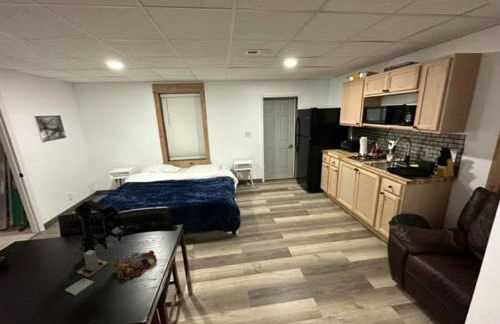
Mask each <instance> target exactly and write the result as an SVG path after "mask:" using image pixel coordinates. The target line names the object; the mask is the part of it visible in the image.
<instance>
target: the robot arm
mask: <svg viewBox="0 0 500 324" xmlns="http://www.w3.org/2000/svg"><path fill="white" fill-rule="evenodd" d="M92 211H95V212H97V214H98V215H99V216H100V217H99V218H100V219H102V223H103V226H102V228H103V229H104V232H103V234H104V235H98V236H97V237H96V236H94V235H93V231H92V226H91V220H90V215H92ZM74 213H75V215H76V217H78V218H79V220H80V225H81V229H82V236H83V237H82V239H81V245H80V246H79V250H80V251H81V252H84V253H86V252H87V251H89V250H91V251H95V252H96V254H97V255H98V252H97V251H96V250H95V247H96V246H97V245H101V246H102V247H103V248H104V249H105V250H108V246H107V242H108V241H107V240H106V239H107V238H109V237H110V236H112V237H113V238H114V239H116V238H117V240H118V242H119V243H120V242H121V241H122V237H123V234H124V233H125V232H126V231H127V230H128V228H127V226H126V225H123V224H124V219H123V218H122V217H120V215H119V213H118V211H117V209H116V208H115V207H114V206H113V205H112V204H108V203H107V204H101V203H98V202H96V201H93V200H92V199H89V200H85V201H83V202H82V203H81V204H80V205H78V206H77V207H75V209H74ZM82 257H83V258H84V255H83V256H82Z"/></svg>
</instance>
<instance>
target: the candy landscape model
mask: <svg viewBox="0 0 500 324" xmlns="http://www.w3.org/2000/svg"><path fill="white" fill-rule="evenodd" d="M157 263H158V259H157V255H156V254H155V251H154V250H153V249H152V250H149V251H148V252H146V251H145V252H144V251H143V252H141V253H140V252H136V251H131V252H130V253H128V254H126V255H125V254H123V256H121V258H116V259H114V260H113V261H111V265H112V268H113V269H114V270H113V273H114V274H116V278H117V279H125V280H128V279H131V280H133V278H134V277H136V278H138V277H139V276H141V275H142V274H144V273H145V272H146V271H148V270H151V268H153V267H154V266H155V265H156V264H157Z"/></svg>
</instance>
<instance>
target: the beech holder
mask: <svg viewBox="0 0 500 324" xmlns="http://www.w3.org/2000/svg"><path fill="white" fill-rule="evenodd" d="M97 260H98V264H102V265H99V267H98V268H96V269H95V270H94V271H90V273H88V272H86V271H84V270H87V269H86V265H84V266H82V267H81V268H78V269H77V270H76V274H78V275H82V276H84V277H87V278H90V277H91V276H93V275H94V274H95V273H97V272H99V271H100V270H102V269H103V268H105V267H106V266H108V265H109V262H108V261H104V260H101V259H99V258H97Z"/></svg>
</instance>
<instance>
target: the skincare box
mask: <svg viewBox="0 0 500 324" xmlns="http://www.w3.org/2000/svg"><path fill="white" fill-rule="evenodd" d="M96 252H97V251H96V250H95V251H91V250H89V251H87V252H86V253H85V252H84V253H83V256H84V257H83V258H84V263H85V266H86V269H85V270H88V271H90V272H92V271H94V270H95V269H97V268H99V267H100V265H99V263H98V260H97V259H98V256H97V255H98V253H97V254H96Z"/></svg>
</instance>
